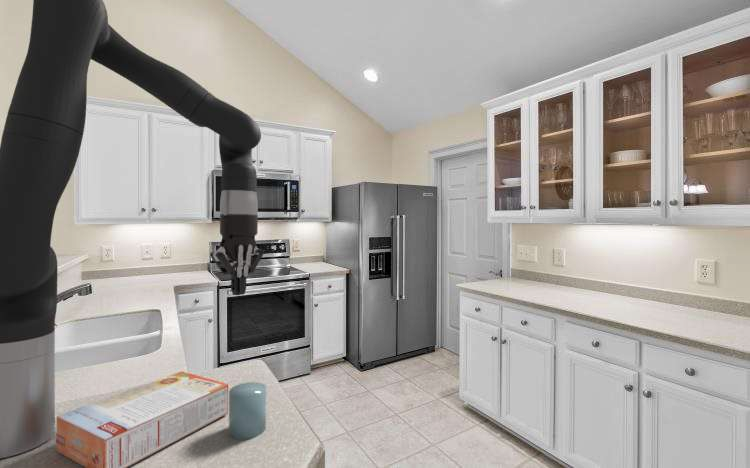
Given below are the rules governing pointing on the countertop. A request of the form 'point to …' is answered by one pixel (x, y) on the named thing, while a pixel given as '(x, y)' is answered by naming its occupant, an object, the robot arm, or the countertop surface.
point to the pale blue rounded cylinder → (247, 410)
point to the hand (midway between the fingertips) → (238, 294)
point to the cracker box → (140, 420)
